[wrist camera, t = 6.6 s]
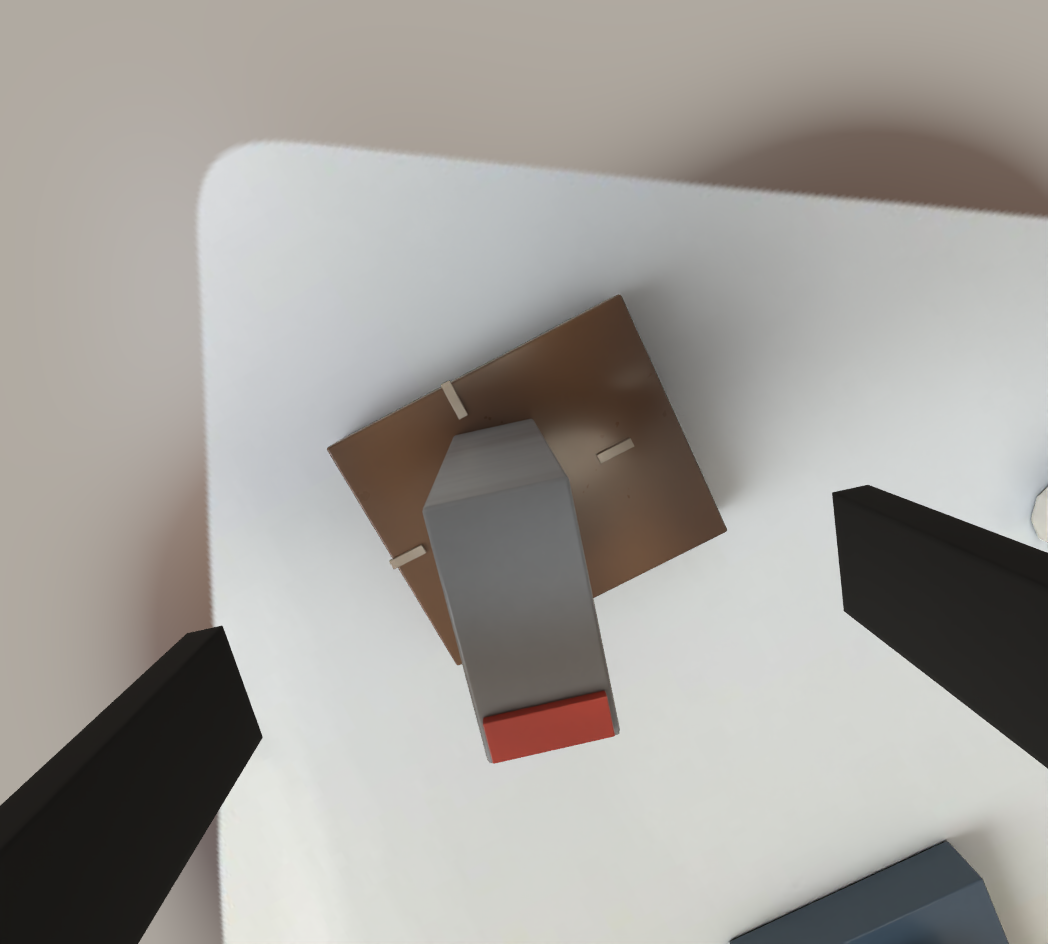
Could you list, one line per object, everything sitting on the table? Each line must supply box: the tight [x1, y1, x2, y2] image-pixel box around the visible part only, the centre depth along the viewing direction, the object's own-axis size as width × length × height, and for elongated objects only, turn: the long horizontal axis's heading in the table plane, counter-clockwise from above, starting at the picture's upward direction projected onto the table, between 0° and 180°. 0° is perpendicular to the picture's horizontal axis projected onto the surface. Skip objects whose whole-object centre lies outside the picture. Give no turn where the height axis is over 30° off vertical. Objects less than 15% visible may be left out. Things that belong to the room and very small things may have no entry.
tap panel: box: [327, 295, 727, 665], centre depth 23 cm, size 12×10×2 cm
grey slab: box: [422, 419, 620, 763], centre depth 17 cm, size 6×3×10 cm, turn 12°
